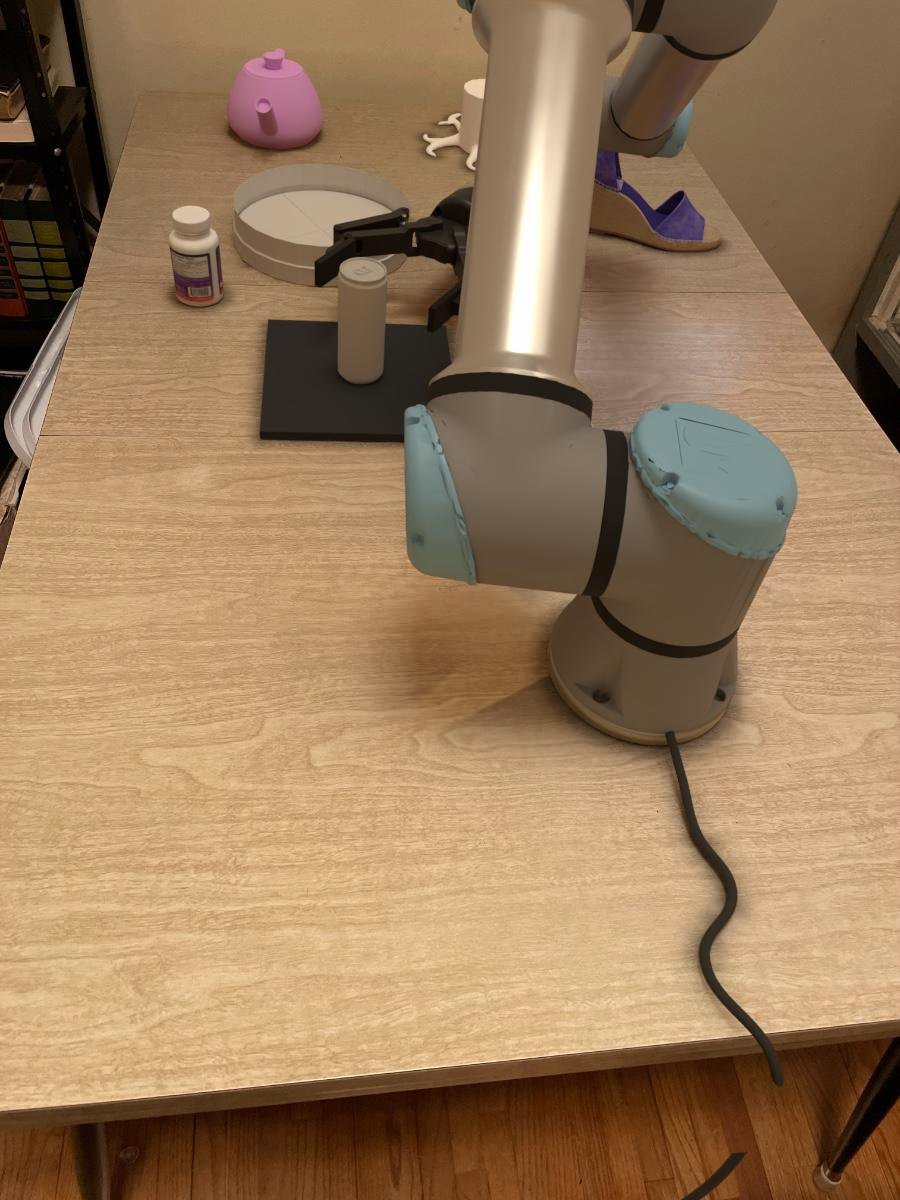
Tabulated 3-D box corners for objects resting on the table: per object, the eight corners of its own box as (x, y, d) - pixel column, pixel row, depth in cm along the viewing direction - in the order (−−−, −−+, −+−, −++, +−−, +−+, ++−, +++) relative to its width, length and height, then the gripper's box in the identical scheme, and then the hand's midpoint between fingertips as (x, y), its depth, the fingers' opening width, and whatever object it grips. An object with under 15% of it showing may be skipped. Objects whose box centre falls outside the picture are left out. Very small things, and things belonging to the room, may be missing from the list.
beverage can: (392, 375, 102) (398, 271, 93) (359, 392, 100) (362, 287, 91) (361, 355, 104) (364, 251, 95) (327, 371, 101) (327, 266, 93)
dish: (443, 263, 121) (447, 225, 117) (285, 303, 111) (284, 263, 108) (353, 188, 132) (354, 151, 129) (203, 219, 123) (200, 180, 119)
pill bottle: (197, 278, 113) (188, 197, 106) (233, 293, 112) (227, 212, 105) (165, 297, 110) (154, 215, 103) (203, 313, 108) (194, 231, 101)
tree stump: (573, 153, 147) (584, 97, 141) (489, 186, 137) (497, 127, 131) (478, 107, 155) (484, 53, 150) (392, 136, 145) (394, 78, 139)
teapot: (216, 159, 134) (210, 77, 127) (238, 103, 148) (233, 26, 140) (316, 168, 135) (315, 88, 127) (328, 112, 149) (328, 36, 141)
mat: (461, 443, 97) (462, 435, 96) (260, 439, 95) (259, 431, 94) (445, 332, 110) (446, 325, 110) (268, 326, 108) (267, 318, 107)
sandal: (719, 262, 128) (755, 147, 117) (572, 234, 129) (595, 119, 118) (719, 234, 134) (755, 122, 122) (579, 208, 135) (601, 95, 124)
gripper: (566, 286, 109) (476, 372, 96) (381, 217, 116) (274, 289, 103) (578, 222, 104) (485, 305, 91) (383, 154, 111) (271, 222, 98)
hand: (372, 297), depth 97 cm, fingers open, 13 cm apart
